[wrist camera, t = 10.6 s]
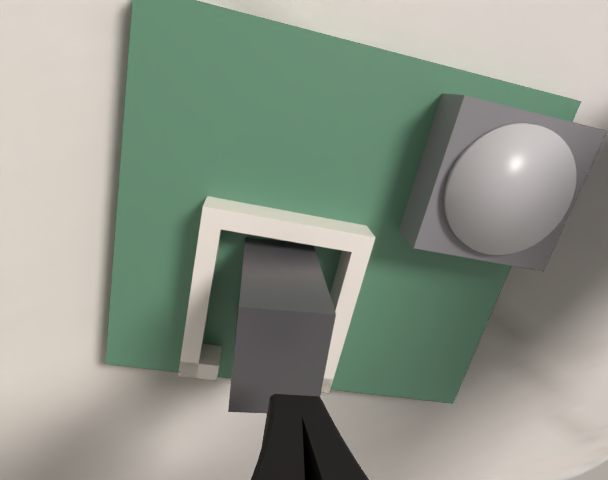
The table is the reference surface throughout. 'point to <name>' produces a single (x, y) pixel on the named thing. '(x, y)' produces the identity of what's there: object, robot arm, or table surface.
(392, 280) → the board
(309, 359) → the plug
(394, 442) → the table surface
